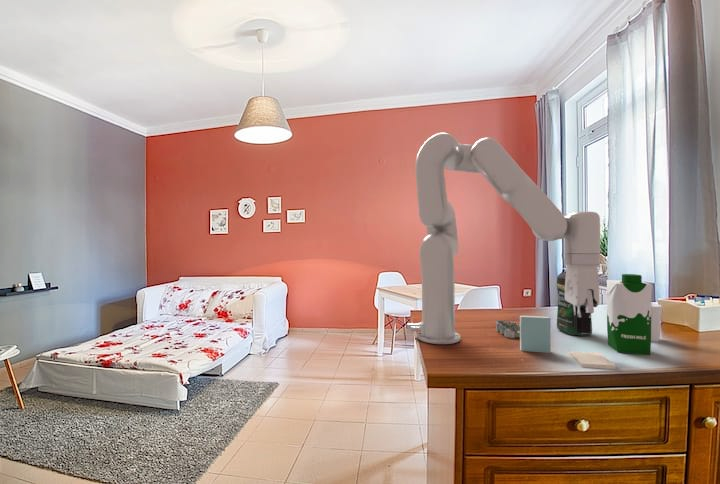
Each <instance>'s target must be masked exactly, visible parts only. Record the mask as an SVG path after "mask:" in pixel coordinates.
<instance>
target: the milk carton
mask: <svg viewBox="0 0 720 484" xmlns="http://www.w3.org/2000/svg"><path fill="white" fill-rule="evenodd" d="M642 279H643V278H642V275H641V274H635V273H633V274H632V273H623V274H621V280H620V279H619V280H618V279H615V280H614V279H606V328H607V329H606V330H607V332H606V333H607V344H608V345H609V347H610V348H612V349H614V350H615V352H617V353H624V354H625V353H626V354H636V355H646V356H647V355H648V356H650V355H651V351H652V349H651V346H652V341H651V303H652V293H653V284H652V283H649V282H646V281H644V280H642Z"/></svg>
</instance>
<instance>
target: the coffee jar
mask: <svg viewBox="0 0 720 484" xmlns="http://www.w3.org/2000/svg"><path fill="white" fill-rule="evenodd" d="M565 277H566V272H561V273H559V274H558V275H557V277H556V290H557V314H556V328H557V329H558V330H559V331H561V332H563V333H564V334H565V333H566V334H568V335H571V336H579V337H588V336H589V335H592V334H593V321H592V320H593V319H591V333H577V332H576V331H575V330H574V316H575V315H574V306H573V305H572V304H571V303H569V302H567V301H566V300H565Z"/></svg>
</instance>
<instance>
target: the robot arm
mask: <svg viewBox="0 0 720 484" xmlns="http://www.w3.org/2000/svg"><path fill="white" fill-rule="evenodd" d="M414 166H415V168H414V169H415V172H414V173H415V182H416V195H417V196H416V197H417V204H418V206H417V207H418V217H419V220H420V222H421V224H423V225H424V226H425V227H426V233H427V234H426V236H425V237H424V238H423V240H422V241H421V243H420V245H419V246H420V247H419V260H420V267H421V269H420V270H421V322H418V323H414V322H408V323H407V326H406V327H407V330H410V331H411V332H417V333H416V338H417V339H418V340H419V341H422V342H424V343H428V344H433V345H452V344H457V343H458V342H460V341H461V335H460V333H458V332H457V331H456V313H455V311H456V310H455V309H456V305H455V304H456V301H455V299H456V298H455V291H456V290H455V267H454V266H455V265H454V263H455V262H454V258H455V257H456V256H457V254H458V251H459V239H458V238H459V237H458V229H457V221H456V220H457V219H456V214H455V213H456V212H455V209H454V207H453V206H452V204H451V203H450V202H449V201H448V195H447V185H446V178H445V177H446V176H445V170H449V171H455V172H463V173H465V172H466V173H473V174H481V175H482V176H483V178H485V179H486V181H487V182H488V183H489V184H490V185H491V188H493V189H494V190H495V191H496V193H497V195H499V197H501V198H502V200H504V201H505V202H507V203H508V204H509V205H511V207H512V208H513V209H514V210H515V211H516V212H517V213H518V214H519V215H520V217H522V219H523V220H524V221H525V222H526V223H527V225H528V226H529V227H530V228H531V230H532V231H531V232H532V233H533V236H535V237H536V238H537V239H539V240H541V241H544V242H545V241H546V242H554V241H557V240H558V241H559V240H564V266H565V267H566V269H565V273H566V277H565V300H566V301H567V302H569V303H571V304H572V305H573V306H574V315H575V316H574V330H575V331H576V332H577V333H591V320H592V314H594V312H595V308H597V307H598V306H599V305H600V280H599V270H598V269H599V268H600V267H601V217H600V214H599V213H597V212H596V211H574V212H570V213H565V214H564V213H562V212H561V210H560V209H559V208H558V207H557V206H556V205H555V204H554V202H553V201H552V200H551V199H550V198H549V197H548V196H547V195H546V193H545V192H544V191H543V190H542V189H541V188H540V187H539V186H538V185H537V184H536V183H535V182H534V181H533V179H531V177H530V176H529V175H528V174H527V173H526V172H525V171H524V170H523V168H521V167H520V166H519V164H518V163H517V162H516V161H515V160H514V158H512V156H511V155H510V154H509V153H508V151H506V149H505V148H504V146H502V145H501V144H500V143H499V141H497V140H496V139H494V138H492V137H483V138H480V139H479V140H477V141H476V142H475V143H474V144H465V143H464V144H463V143H460V142H459V141H458V140H457V138H456V137H455V136H453V135H452V134H451V133H450V134H449V133H448V132H439V133H436V134H434V135H432V136H431V137H429V138H428V139H427V140H426V141H424V142H423V144H422V146H421V147H420V148H419V151H418V153H417V155H416V159H415V165H414Z"/></svg>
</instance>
